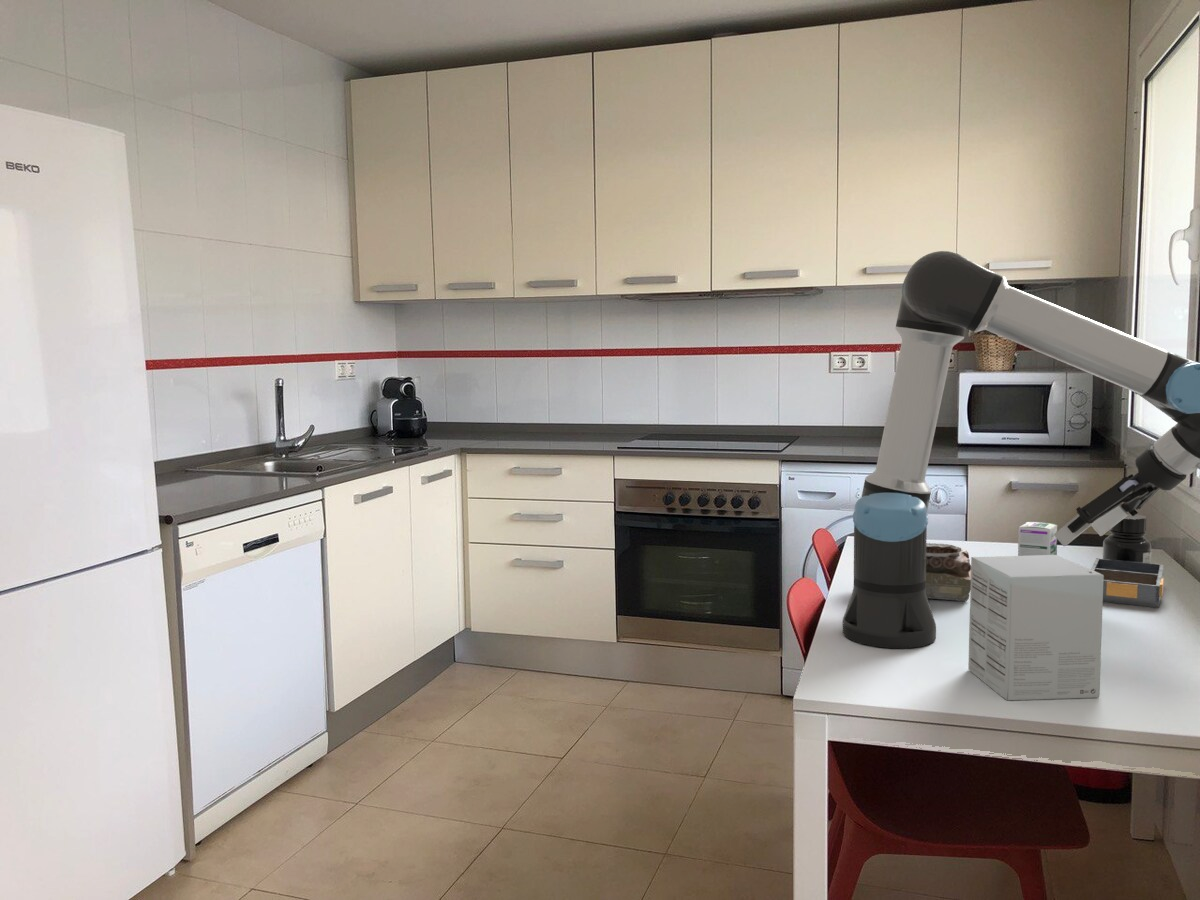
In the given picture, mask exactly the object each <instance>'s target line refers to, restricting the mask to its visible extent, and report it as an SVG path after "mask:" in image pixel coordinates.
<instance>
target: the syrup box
mask: <svg viewBox="0 0 1200 900" xmlns="http://www.w3.org/2000/svg"><path fill="white" fill-rule="evenodd" d="M1017 529H1018V530H1017V531H1018V534H1017V535H1018V539H1017V548H1018V549H1017V550H1018V551H1017V556H1031V555H1057V554H1058V553H1057V552H1058V539H1057V538H1056V537H1055V536H1054V534H1055V533H1056V532H1057V531H1058V524H1055V523H1050V522H1041V521H1026V522H1025V523H1024V524H1022V525H1020V526H1018V528H1017ZM1057 556H1058V555H1057Z"/></svg>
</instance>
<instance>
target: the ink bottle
mask: <svg viewBox="0 0 1200 900" xmlns="http://www.w3.org/2000/svg"><path fill="white" fill-rule="evenodd" d="M1128 514H1129V515H1128V516H1126V517H1125V518H1124V519H1123V520H1121V521H1120V522H1119V523H1117V524H1116V525H1115V526H1114V527H1112V528H1111V529H1110V530H1109V531H1108V532H1109V533H1111V534H1109V535H1108V536H1106V537H1105V538H1104V539H1103V542H1102V559H1110V560H1121V561H1132V562H1143V563H1152V561H1151V560H1152V543H1151V542H1150V541H1149V540H1148V539H1147V538H1146V537H1145V535H1147V521H1148V520H1147V518H1148V517H1147V516H1146V515H1141V514H1138V513H1137V514H1136V515H1135V516H1132V515H1131V514H1130V513H1128Z"/></svg>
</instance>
